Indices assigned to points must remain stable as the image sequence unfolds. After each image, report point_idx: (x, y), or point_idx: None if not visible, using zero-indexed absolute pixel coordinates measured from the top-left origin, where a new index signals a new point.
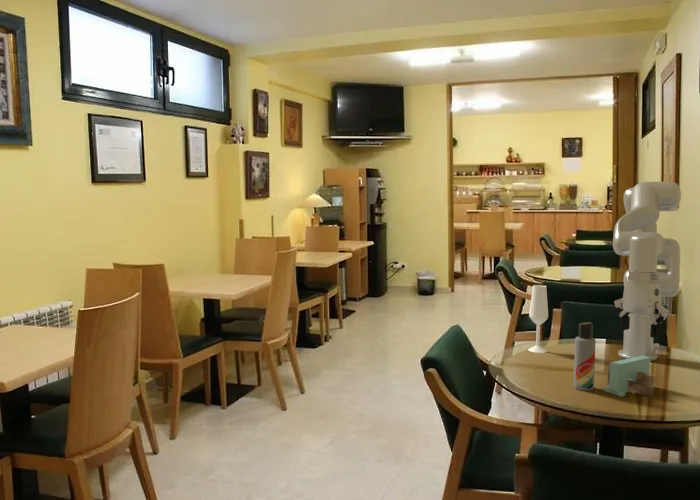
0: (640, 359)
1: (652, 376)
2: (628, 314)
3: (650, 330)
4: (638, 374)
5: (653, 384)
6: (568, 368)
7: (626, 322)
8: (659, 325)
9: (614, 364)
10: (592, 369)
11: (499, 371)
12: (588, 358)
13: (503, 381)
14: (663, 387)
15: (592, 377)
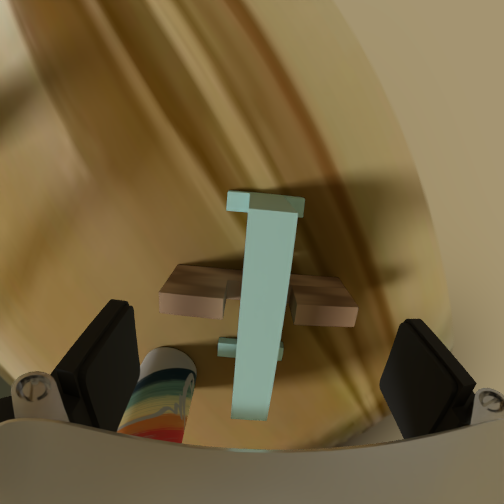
0: (285, 292)
1: (355, 314)
2: (64, 406)
3: (394, 418)
4: (303, 322)
5: (348, 292)
6: (27, 240)
7: (115, 383)
8: (469, 399)
9: (251, 418)
10: (187, 414)
11: None
12: None
13: None
14: (319, 161)
15: (191, 395)
